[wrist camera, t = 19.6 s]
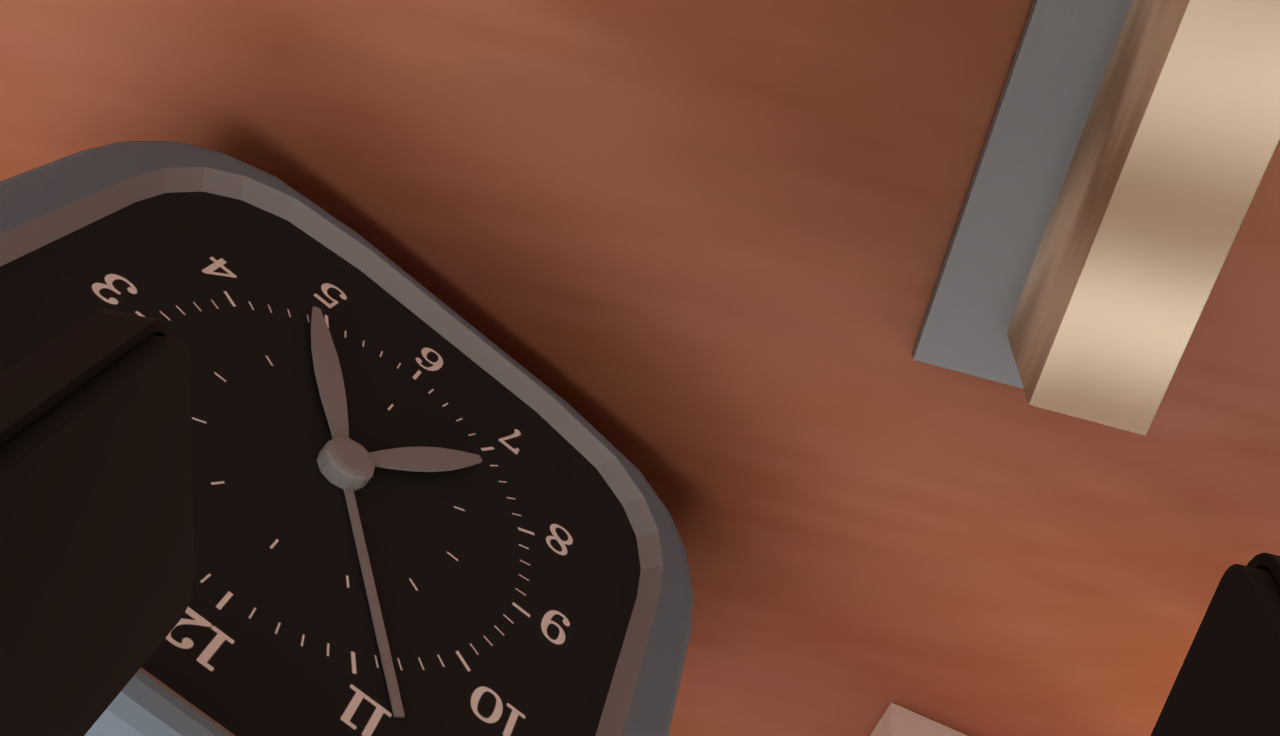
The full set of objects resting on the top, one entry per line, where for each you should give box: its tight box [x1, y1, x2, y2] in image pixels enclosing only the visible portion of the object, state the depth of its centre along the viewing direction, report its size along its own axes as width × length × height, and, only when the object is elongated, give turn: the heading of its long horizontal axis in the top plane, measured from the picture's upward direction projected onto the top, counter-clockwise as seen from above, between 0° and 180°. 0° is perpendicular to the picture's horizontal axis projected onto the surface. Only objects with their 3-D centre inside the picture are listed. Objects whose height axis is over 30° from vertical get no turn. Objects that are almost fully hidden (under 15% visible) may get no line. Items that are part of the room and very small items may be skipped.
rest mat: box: [912, 0, 1132, 389], centre depth 32 cm, size 16×7×1 cm, turn 167°
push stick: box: [1006, 0, 1280, 436], centre depth 30 cm, size 12×3×5 cm, turn 167°
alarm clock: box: [0, 141, 693, 736], centre depth 30 cm, size 21×10×22 cm, turn 51°
